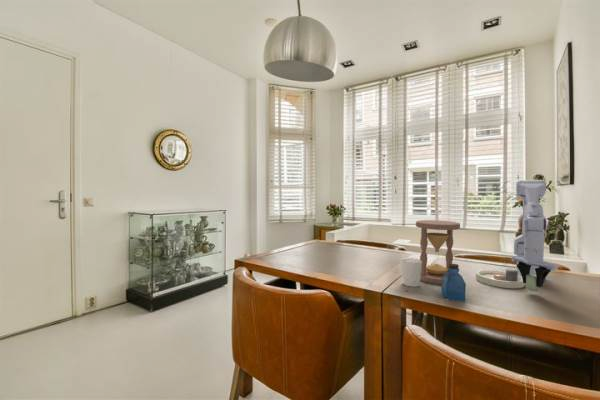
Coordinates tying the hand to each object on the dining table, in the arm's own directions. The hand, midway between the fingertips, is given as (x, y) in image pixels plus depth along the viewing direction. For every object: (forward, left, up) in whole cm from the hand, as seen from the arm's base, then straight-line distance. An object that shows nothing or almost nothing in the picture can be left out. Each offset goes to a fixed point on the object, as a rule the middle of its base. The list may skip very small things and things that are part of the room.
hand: (532, 284), depth 110 cm
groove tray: (-4, -15, -4) cm, 16 cm away
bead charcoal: (-4, -10, -3) cm, 11 cm away
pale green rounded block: (0, 0, -2) cm, 2 cm away
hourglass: (+18, -28, -4) cm, 33 cm away
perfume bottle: (+30, -9, -4) cm, 32 cm away
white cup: (+34, -26, -4) cm, 43 cm away
